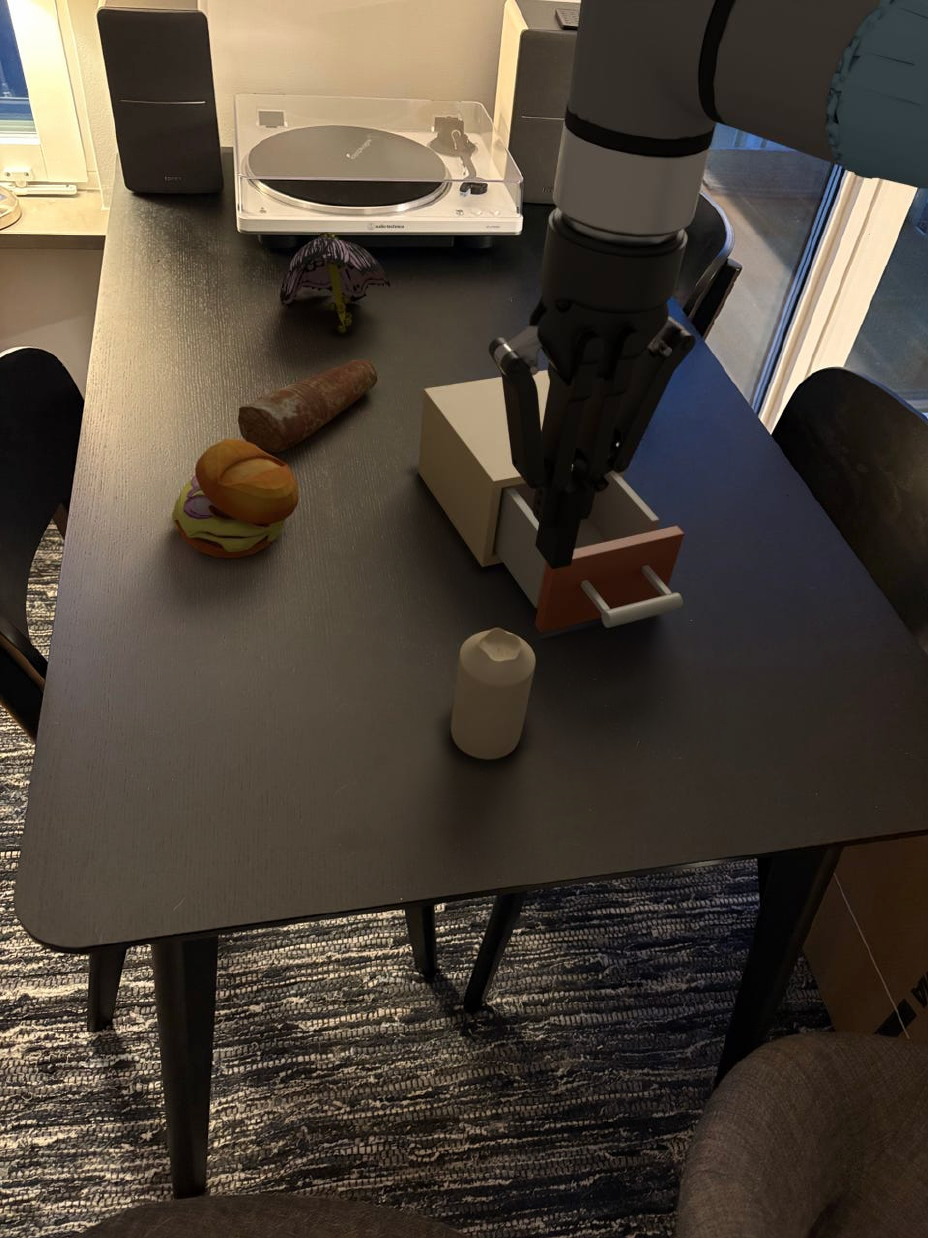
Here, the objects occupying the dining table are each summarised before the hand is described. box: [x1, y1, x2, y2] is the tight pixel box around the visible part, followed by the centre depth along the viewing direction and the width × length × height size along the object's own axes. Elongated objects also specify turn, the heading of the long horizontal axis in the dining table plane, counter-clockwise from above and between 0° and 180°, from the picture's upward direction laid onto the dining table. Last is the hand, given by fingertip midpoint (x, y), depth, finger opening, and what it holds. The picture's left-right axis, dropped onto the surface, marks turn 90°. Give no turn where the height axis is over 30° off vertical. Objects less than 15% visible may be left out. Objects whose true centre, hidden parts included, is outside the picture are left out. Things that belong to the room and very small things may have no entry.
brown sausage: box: [237, 358, 378, 453], centre depth 103 cm, size 6×19×6 cm, turn 145°
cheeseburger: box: [171, 438, 299, 559], centre depth 88 cm, size 10×11×10 cm
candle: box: [450, 627, 536, 760], centre depth 72 cm, size 6×6×10 cm
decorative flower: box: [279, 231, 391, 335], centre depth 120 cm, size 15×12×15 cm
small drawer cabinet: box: [417, 369, 626, 568], centre depth 94 cm, size 16×14×10 cm
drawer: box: [493, 470, 685, 634], centre depth 86 cm, size 20×13×8 cm, turn 24°
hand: (552, 555), depth 68 cm, fingers closed
